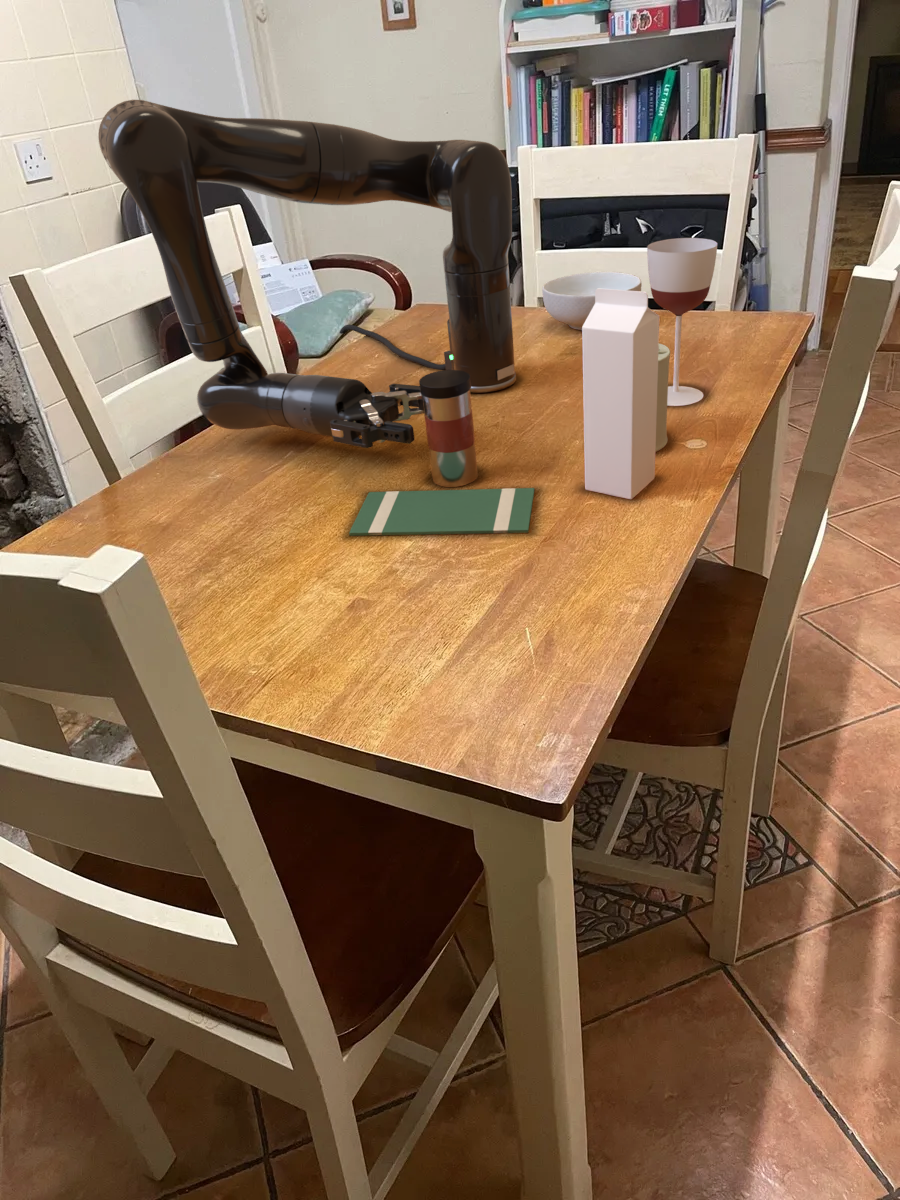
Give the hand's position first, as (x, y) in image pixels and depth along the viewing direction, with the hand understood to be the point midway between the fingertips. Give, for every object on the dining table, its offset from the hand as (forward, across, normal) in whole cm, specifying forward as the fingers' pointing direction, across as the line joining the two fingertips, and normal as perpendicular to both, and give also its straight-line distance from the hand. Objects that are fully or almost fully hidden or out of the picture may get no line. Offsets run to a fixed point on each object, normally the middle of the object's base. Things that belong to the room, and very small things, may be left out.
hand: (432, 420), depth 105 cm
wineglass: (+19, +33, +7) cm, 39 cm away
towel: (+6, -9, +7) cm, 13 cm away
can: (+19, +16, +7) cm, 26 cm away
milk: (+22, +5, +7) cm, 24 cm away
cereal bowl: (-7, +61, +7) cm, 62 cm away
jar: (+3, 0, +7) cm, 7 cm away
